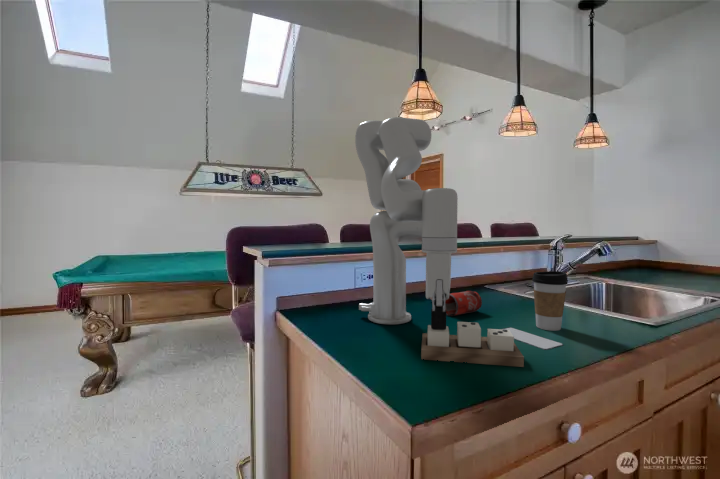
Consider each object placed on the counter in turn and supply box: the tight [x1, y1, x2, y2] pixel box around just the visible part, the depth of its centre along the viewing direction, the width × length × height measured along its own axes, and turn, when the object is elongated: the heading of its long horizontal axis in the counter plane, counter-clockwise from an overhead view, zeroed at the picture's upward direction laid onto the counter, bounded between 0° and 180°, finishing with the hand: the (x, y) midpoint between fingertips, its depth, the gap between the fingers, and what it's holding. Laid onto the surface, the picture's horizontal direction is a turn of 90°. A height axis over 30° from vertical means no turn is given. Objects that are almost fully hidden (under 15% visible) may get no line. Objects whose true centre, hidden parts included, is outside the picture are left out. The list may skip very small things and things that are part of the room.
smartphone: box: [501, 327, 564, 351], centre depth 87 cm, size 7×1×15 cm
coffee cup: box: [532, 270, 569, 332], centre depth 95 cm, size 8×8×15 cm
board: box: [420, 332, 525, 368], centre depth 77 cm, size 20×11×2 cm, turn 79°
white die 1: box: [427, 324, 450, 347], centre depth 79 cm, size 4×4×4 cm
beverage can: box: [445, 290, 483, 317], centre depth 110 cm, size 7×12×7 cm, turn 119°
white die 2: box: [456, 321, 482, 348], centre depth 77 cm, size 4×4×4 cm
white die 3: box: [486, 328, 515, 351], centre depth 76 cm, size 4×4×4 cm
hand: (438, 328), depth 78 cm, fingers closed
